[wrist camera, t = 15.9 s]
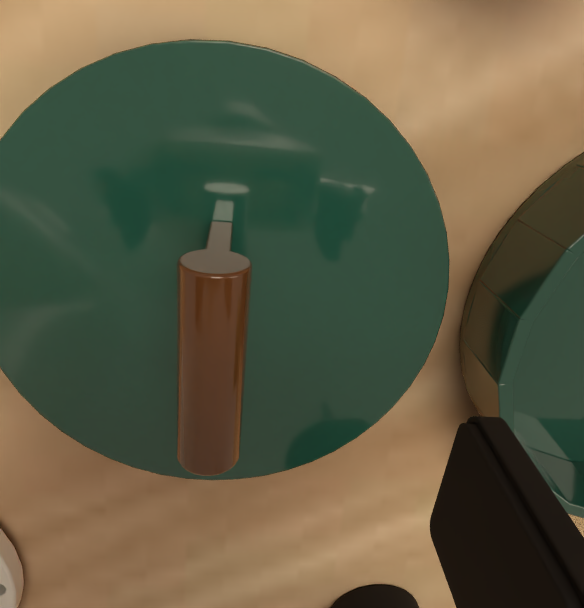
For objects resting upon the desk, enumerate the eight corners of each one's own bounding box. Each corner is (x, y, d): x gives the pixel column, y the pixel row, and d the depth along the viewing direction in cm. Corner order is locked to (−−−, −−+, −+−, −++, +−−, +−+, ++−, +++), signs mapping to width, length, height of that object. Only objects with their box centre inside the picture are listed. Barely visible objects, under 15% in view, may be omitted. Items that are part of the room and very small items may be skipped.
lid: (15, 457, 20) (-64, 595, 15) (-63, 10, 14) (-254, -20, 8) (395, 464, 22) (440, 589, 17) (489, 69, 15) (612, 76, 10)
